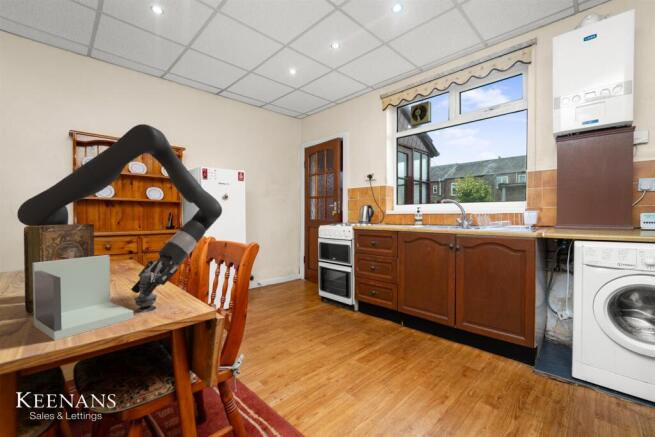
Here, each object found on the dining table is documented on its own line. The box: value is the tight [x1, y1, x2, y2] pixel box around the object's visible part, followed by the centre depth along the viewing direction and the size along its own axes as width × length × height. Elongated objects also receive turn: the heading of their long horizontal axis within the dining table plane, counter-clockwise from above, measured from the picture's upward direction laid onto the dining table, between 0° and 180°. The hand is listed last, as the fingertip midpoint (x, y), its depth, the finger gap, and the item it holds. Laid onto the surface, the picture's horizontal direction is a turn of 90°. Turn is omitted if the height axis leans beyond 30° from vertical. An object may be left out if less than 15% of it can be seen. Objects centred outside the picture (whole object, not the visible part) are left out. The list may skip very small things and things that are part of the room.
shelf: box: [33, 254, 135, 341], centre depth 76 cm, size 16×16×16 cm
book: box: [23, 223, 95, 314], centre depth 88 cm, size 16×6×25 cm, turn 168°
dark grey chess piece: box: [133, 269, 158, 313], centre depth 85 cm, size 6×6×12 cm
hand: (139, 293), depth 84 cm, fingers open, 5 cm apart
